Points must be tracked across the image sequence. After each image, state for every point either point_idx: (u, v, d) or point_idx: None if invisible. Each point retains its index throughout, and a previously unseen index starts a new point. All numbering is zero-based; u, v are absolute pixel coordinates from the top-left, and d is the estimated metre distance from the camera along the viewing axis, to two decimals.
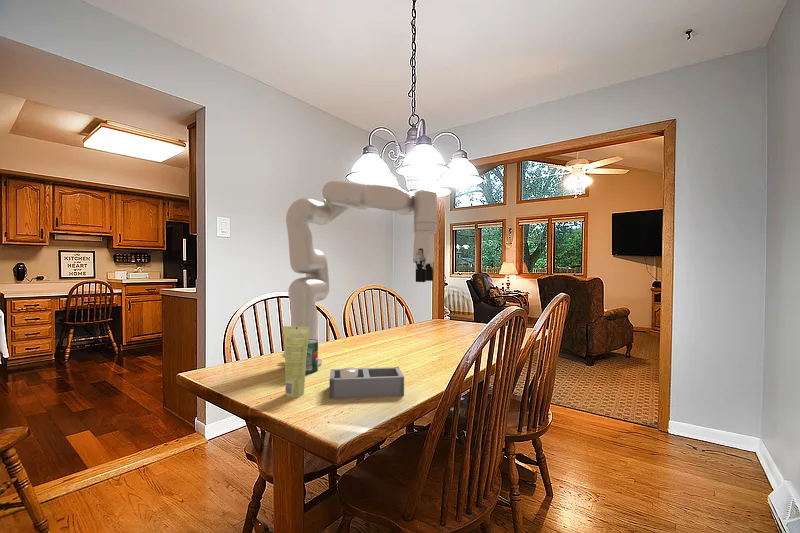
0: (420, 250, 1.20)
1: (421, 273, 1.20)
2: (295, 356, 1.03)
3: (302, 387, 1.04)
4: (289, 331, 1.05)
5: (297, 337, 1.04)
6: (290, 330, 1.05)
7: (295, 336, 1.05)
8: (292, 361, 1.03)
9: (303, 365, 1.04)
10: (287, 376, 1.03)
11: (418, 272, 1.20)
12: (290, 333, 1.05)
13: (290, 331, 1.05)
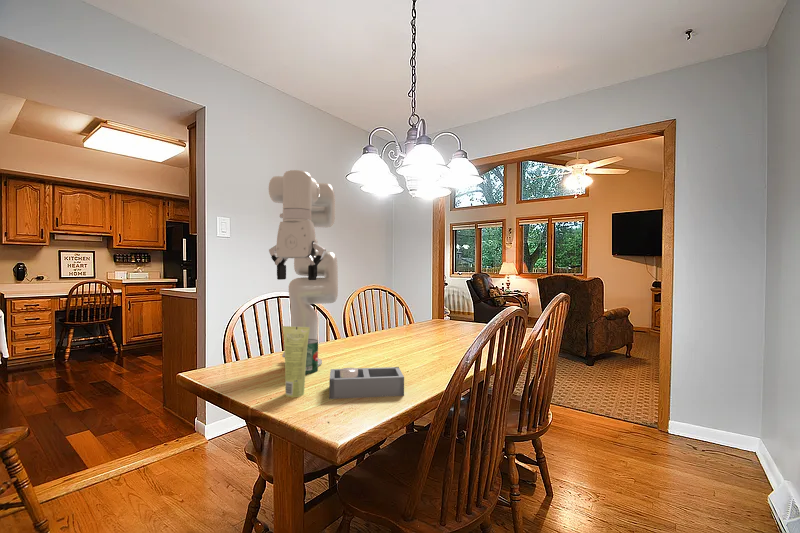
0: (315, 243, 1.03)
1: (316, 270, 1.04)
2: (295, 356, 1.03)
3: (302, 387, 1.04)
4: (289, 331, 1.05)
5: (297, 337, 1.04)
6: (290, 330, 1.05)
7: (295, 336, 1.05)
8: (292, 361, 1.03)
9: (303, 365, 1.04)
10: (287, 376, 1.03)
11: (315, 268, 1.03)
12: (290, 333, 1.05)
13: (290, 331, 1.05)
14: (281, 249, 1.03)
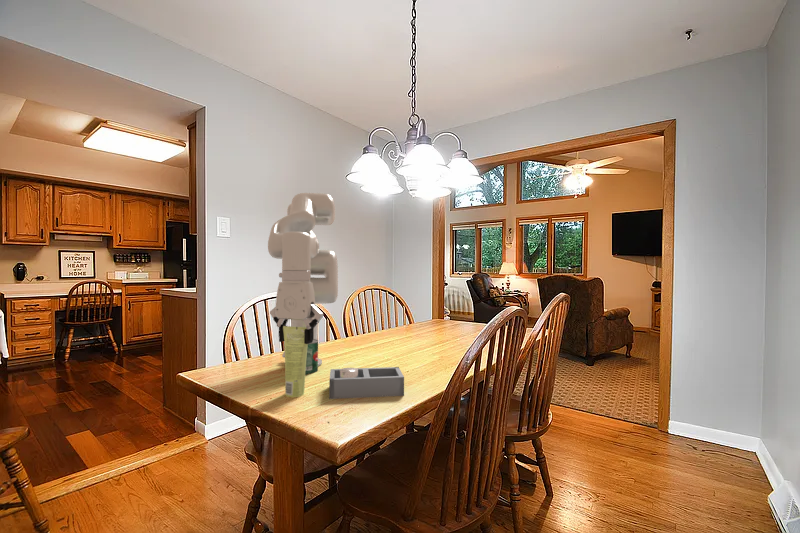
0: (314, 306, 1.03)
1: (312, 333, 1.04)
2: (295, 356, 1.03)
3: (302, 387, 1.04)
4: (289, 331, 1.05)
5: (297, 337, 1.04)
6: (290, 330, 1.05)
7: (295, 336, 1.04)
8: (292, 361, 1.03)
9: (303, 365, 1.04)
10: (287, 376, 1.03)
11: (311, 331, 1.03)
12: (290, 333, 1.05)
13: (290, 331, 1.05)
14: (280, 310, 1.03)
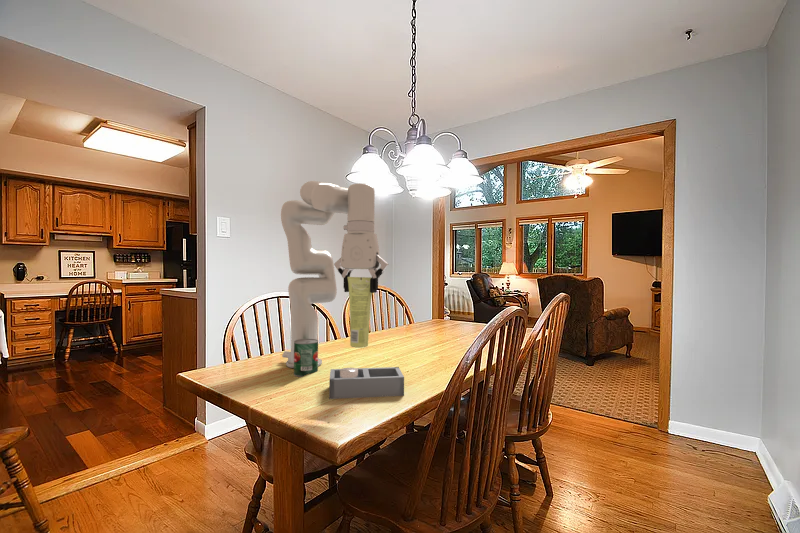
0: (378, 256, 1.06)
1: (377, 282, 1.07)
2: (360, 305, 1.06)
3: (367, 336, 1.07)
4: (354, 281, 1.08)
5: (362, 287, 1.07)
6: (355, 280, 1.08)
7: (359, 286, 1.07)
8: (357, 310, 1.06)
9: (368, 314, 1.07)
10: (352, 324, 1.06)
11: (376, 281, 1.06)
12: (355, 283, 1.07)
13: (355, 281, 1.08)
14: (346, 260, 1.06)
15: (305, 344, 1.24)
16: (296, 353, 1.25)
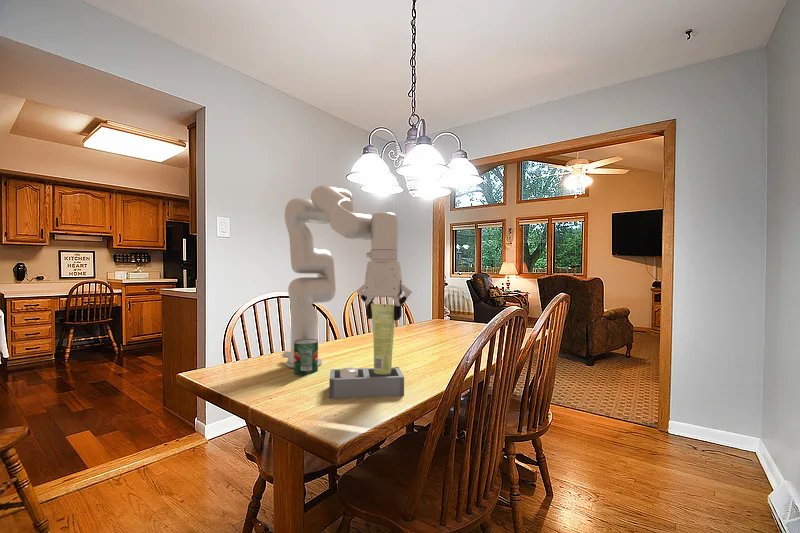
0: (402, 284, 1.07)
1: (400, 310, 1.08)
2: (384, 332, 1.07)
3: (390, 362, 1.08)
4: (377, 308, 1.09)
5: (385, 314, 1.08)
6: (378, 307, 1.09)
7: (383, 313, 1.08)
8: (381, 337, 1.07)
9: (391, 341, 1.08)
10: (376, 352, 1.07)
11: (400, 309, 1.07)
12: (378, 310, 1.09)
13: (378, 308, 1.09)
14: (370, 288, 1.07)
15: (305, 344, 1.24)
16: (296, 353, 1.25)
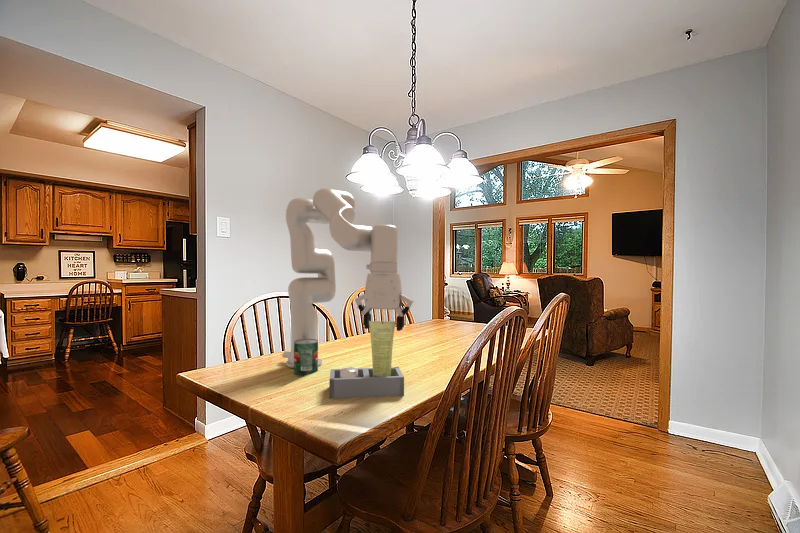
0: (402, 294, 1.07)
1: (403, 320, 1.08)
2: (382, 349, 1.07)
3: None
4: (375, 326, 1.09)
5: (384, 331, 1.08)
6: (376, 325, 1.09)
7: (381, 331, 1.08)
8: (380, 354, 1.07)
9: (390, 358, 1.08)
10: (375, 369, 1.07)
11: (402, 319, 1.07)
12: (376, 328, 1.09)
13: (376, 326, 1.09)
14: (370, 300, 1.07)
15: (305, 344, 1.24)
16: (296, 353, 1.25)
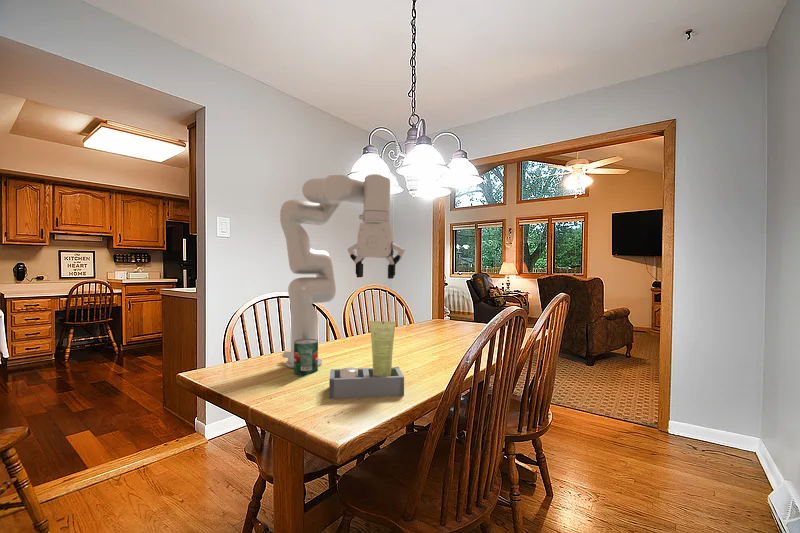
0: None
1: (394, 269, 1.10)
2: (383, 349, 1.07)
3: None
4: (376, 326, 1.09)
5: (384, 331, 1.08)
6: (377, 325, 1.09)
7: (382, 331, 1.08)
8: (380, 354, 1.07)
9: (390, 358, 1.08)
10: (376, 369, 1.07)
11: (394, 267, 1.09)
12: (377, 328, 1.09)
13: (377, 326, 1.09)
14: (362, 249, 1.10)
15: (305, 344, 1.24)
16: (296, 353, 1.25)
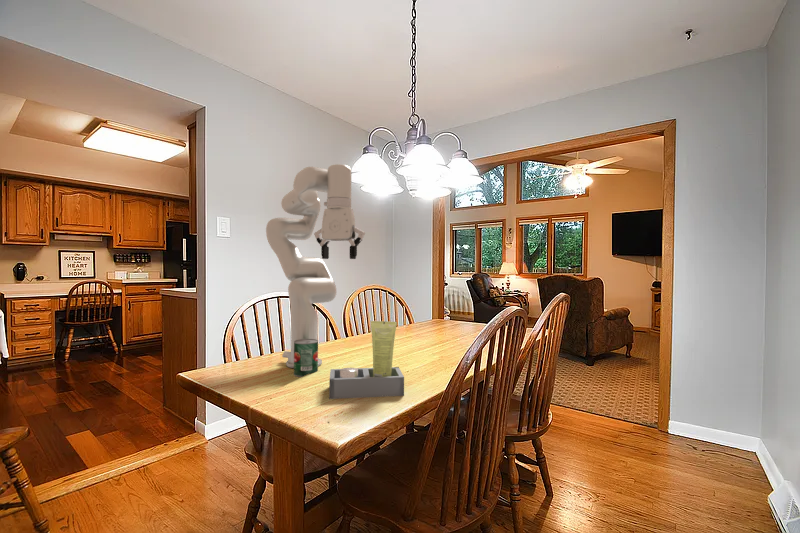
0: (355, 227, 1.20)
1: (356, 250, 1.21)
2: (383, 349, 1.07)
3: None
4: (377, 325, 1.09)
5: (385, 331, 1.08)
6: (378, 325, 1.09)
7: (383, 331, 1.09)
8: (381, 354, 1.07)
9: (391, 358, 1.08)
10: (376, 369, 1.07)
11: (355, 248, 1.20)
12: (378, 327, 1.09)
13: (378, 325, 1.09)
14: (326, 232, 1.20)
15: (305, 344, 1.24)
16: (296, 353, 1.25)
